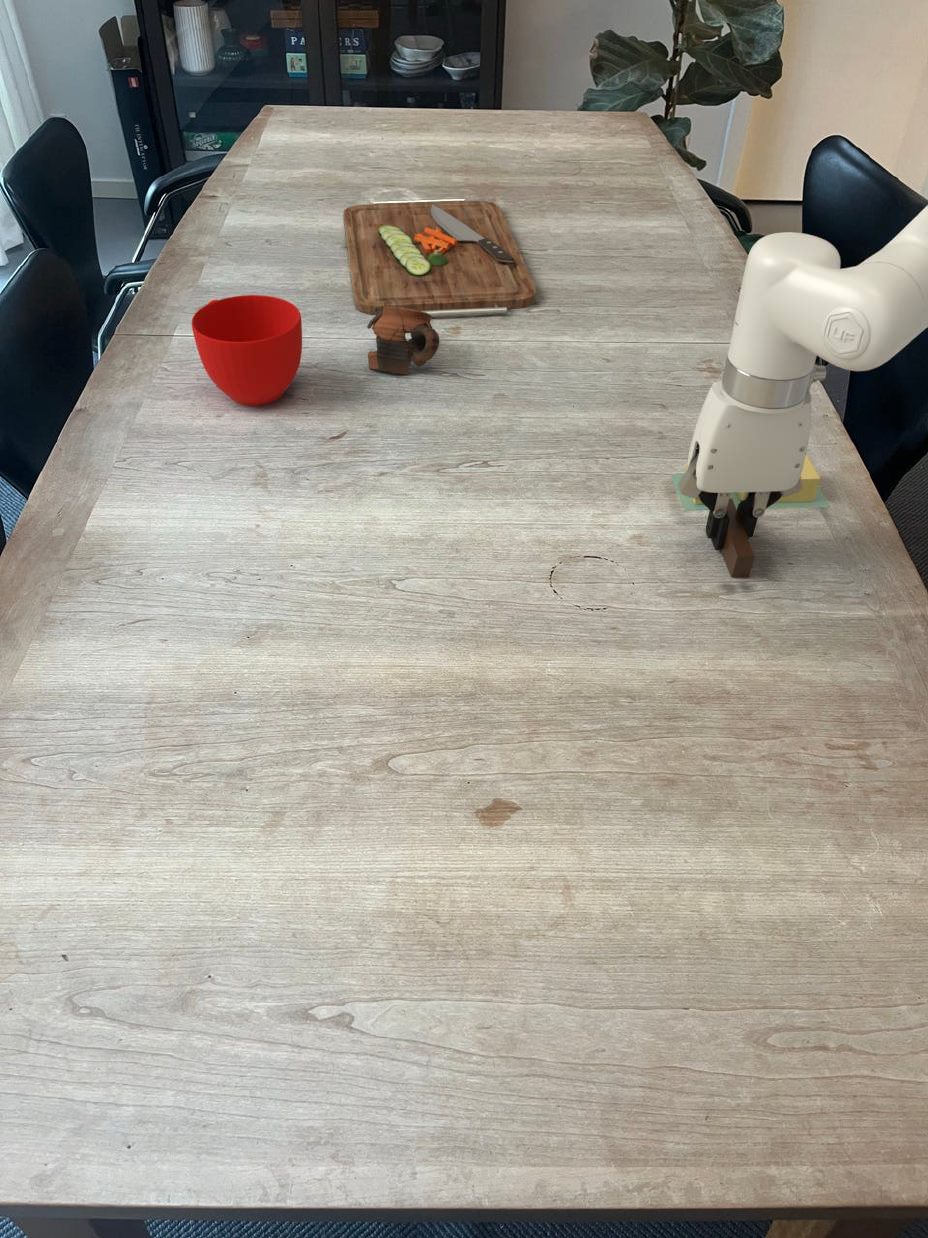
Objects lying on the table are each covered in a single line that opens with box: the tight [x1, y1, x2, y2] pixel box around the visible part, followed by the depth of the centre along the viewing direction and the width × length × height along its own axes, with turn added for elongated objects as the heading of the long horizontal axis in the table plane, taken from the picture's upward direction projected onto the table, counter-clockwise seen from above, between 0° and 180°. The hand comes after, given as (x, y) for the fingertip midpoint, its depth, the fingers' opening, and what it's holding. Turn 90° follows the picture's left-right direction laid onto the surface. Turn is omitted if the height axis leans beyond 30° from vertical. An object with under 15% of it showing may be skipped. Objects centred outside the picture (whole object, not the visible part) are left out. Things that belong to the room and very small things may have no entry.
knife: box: [719, 498, 756, 579], centre depth 104 cm, size 2×19×3 cm, turn 3°
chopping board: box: [342, 197, 537, 317], centre depth 158 cm, size 45×27×3 cm, turn 8°
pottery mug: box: [366, 306, 440, 375], centre depth 131 cm, size 12×10×8 cm
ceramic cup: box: [191, 294, 303, 407], centre depth 124 cm, size 13×17×10 cm
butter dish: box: [669, 473, 831, 512], centre depth 110 cm, size 16×7×1 cm, turn 94°
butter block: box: [737, 453, 821, 503], centre depth 109 cm, size 8×5×3 cm, turn 94°
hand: (727, 540), depth 102 cm, fingers closed on knife, 1 cm apart
